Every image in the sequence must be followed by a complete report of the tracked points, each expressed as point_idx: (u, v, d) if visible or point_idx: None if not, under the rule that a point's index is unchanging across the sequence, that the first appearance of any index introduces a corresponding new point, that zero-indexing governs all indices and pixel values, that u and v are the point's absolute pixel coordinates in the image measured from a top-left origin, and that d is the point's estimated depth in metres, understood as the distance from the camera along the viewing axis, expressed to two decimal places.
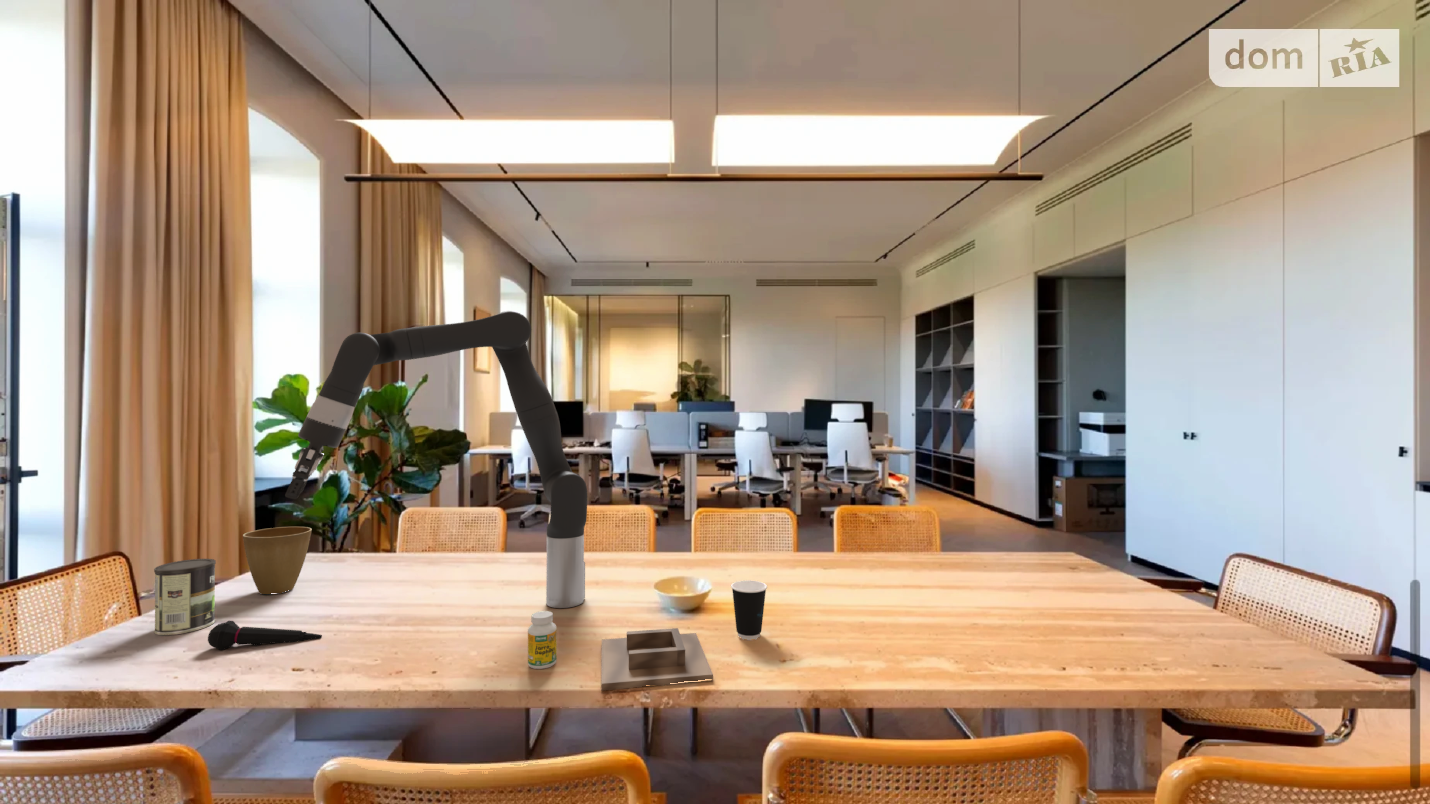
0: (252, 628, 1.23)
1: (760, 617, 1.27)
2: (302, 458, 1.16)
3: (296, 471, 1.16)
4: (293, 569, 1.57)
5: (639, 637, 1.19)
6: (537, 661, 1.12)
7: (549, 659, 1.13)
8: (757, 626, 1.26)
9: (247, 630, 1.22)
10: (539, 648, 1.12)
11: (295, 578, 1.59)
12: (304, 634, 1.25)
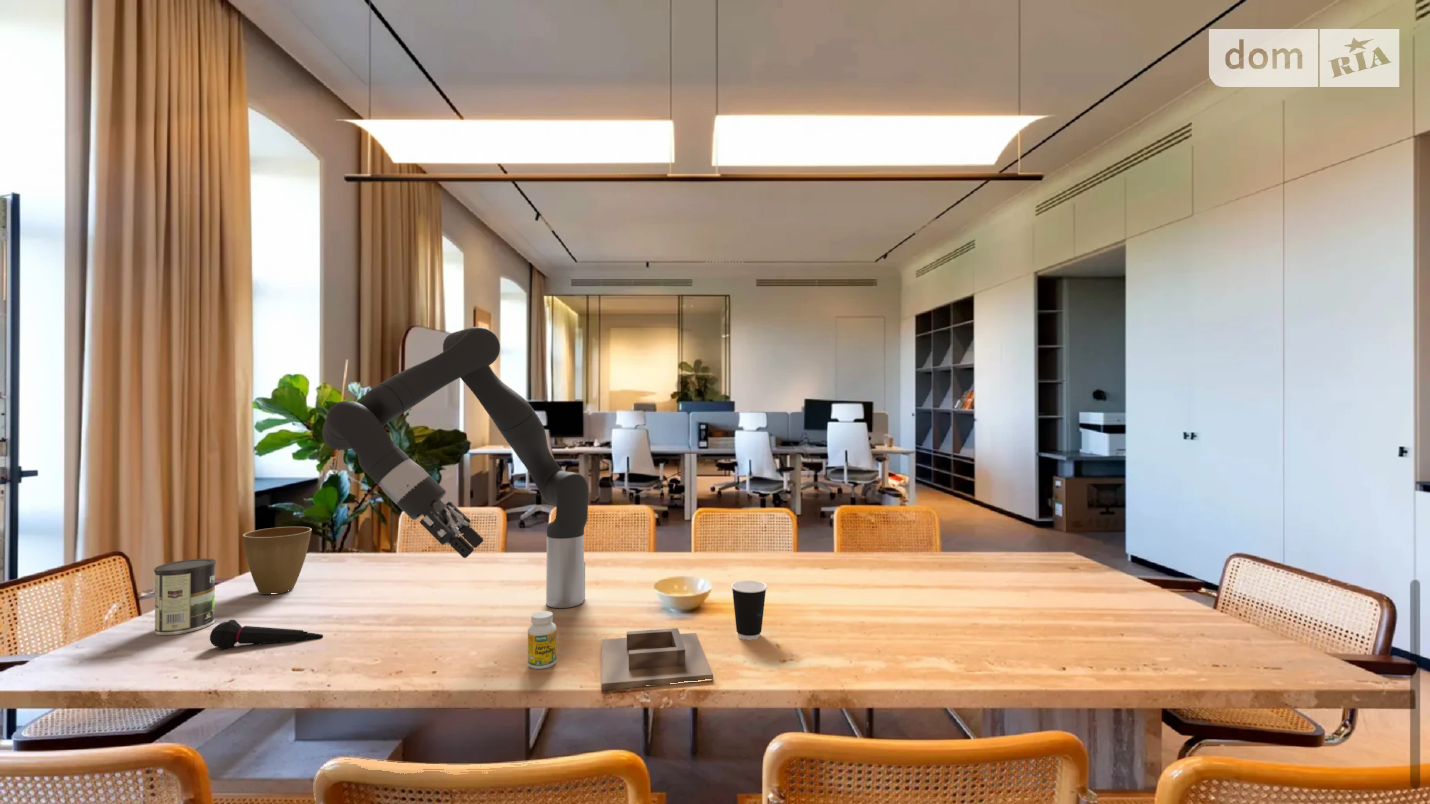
0: (254, 627, 1.23)
1: (760, 617, 1.27)
2: (428, 529, 1.04)
3: (439, 540, 1.05)
4: (293, 569, 1.57)
5: (639, 637, 1.19)
6: (537, 661, 1.12)
7: (549, 659, 1.13)
8: (757, 626, 1.26)
9: (249, 630, 1.22)
10: (539, 648, 1.12)
11: (295, 578, 1.59)
12: (305, 634, 1.25)
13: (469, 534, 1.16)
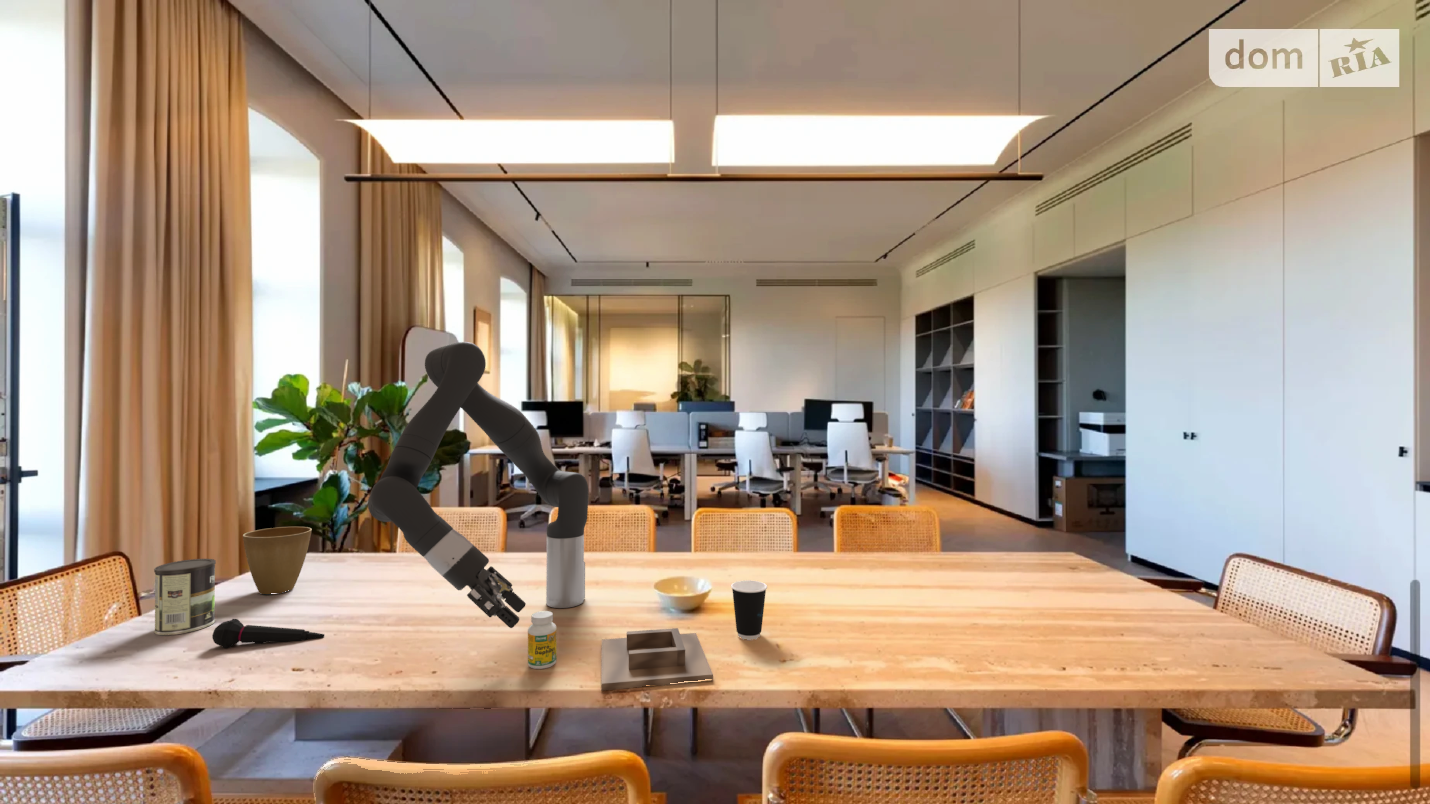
0: (256, 626, 1.23)
1: (760, 617, 1.27)
2: (476, 602, 1.06)
3: (487, 613, 1.06)
4: (293, 569, 1.57)
5: (639, 637, 1.19)
6: (537, 661, 1.12)
7: (549, 659, 1.13)
8: (757, 626, 1.26)
9: (251, 629, 1.23)
10: (539, 648, 1.12)
11: (295, 578, 1.59)
12: (307, 633, 1.26)
13: (512, 599, 1.17)
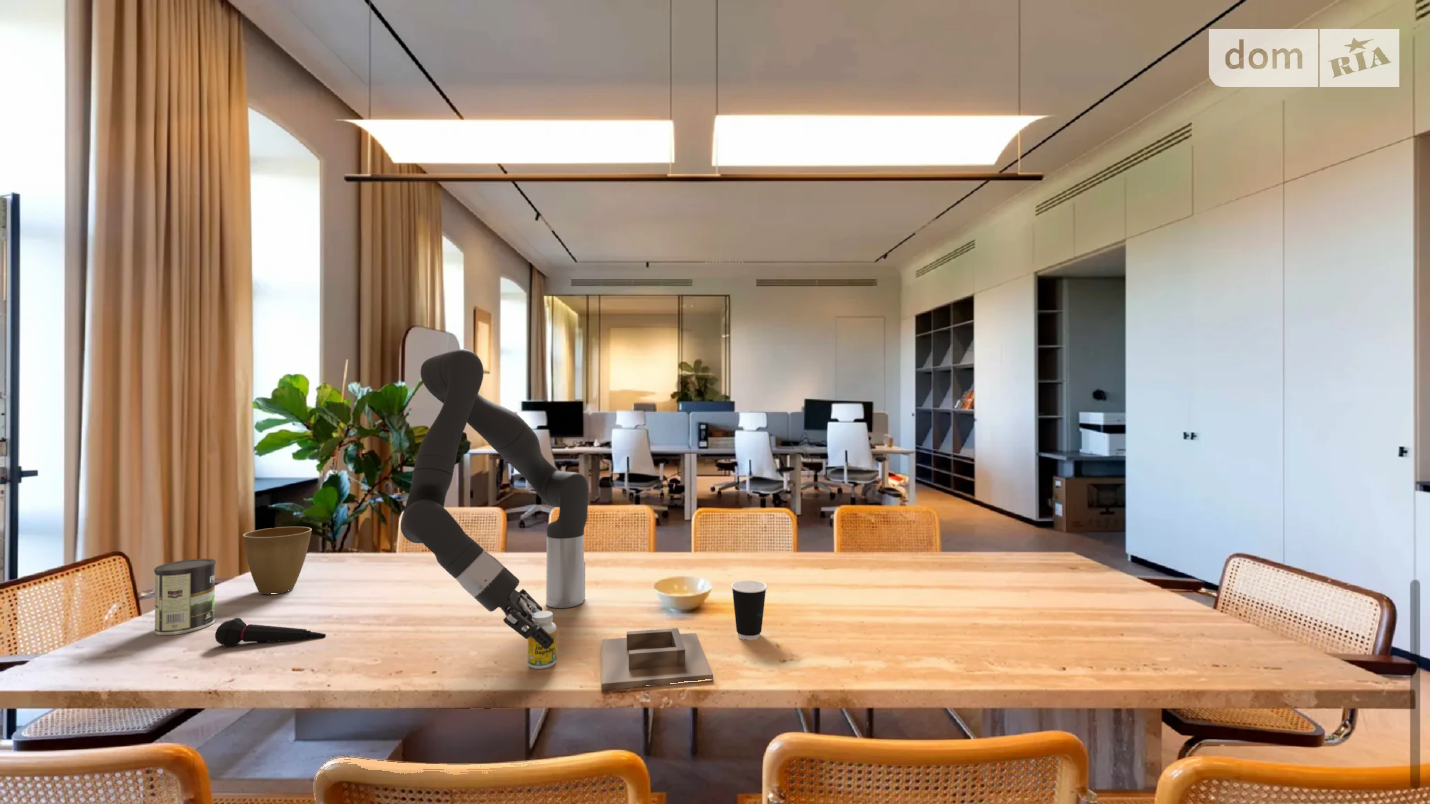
0: (258, 626, 1.24)
1: (760, 617, 1.27)
2: (513, 627, 1.07)
3: (524, 635, 1.08)
4: (293, 569, 1.57)
5: (639, 637, 1.19)
6: (537, 660, 1.12)
7: (549, 659, 1.13)
8: (757, 626, 1.26)
9: (253, 628, 1.23)
10: (539, 648, 1.12)
11: (295, 578, 1.59)
12: (308, 633, 1.26)
13: None
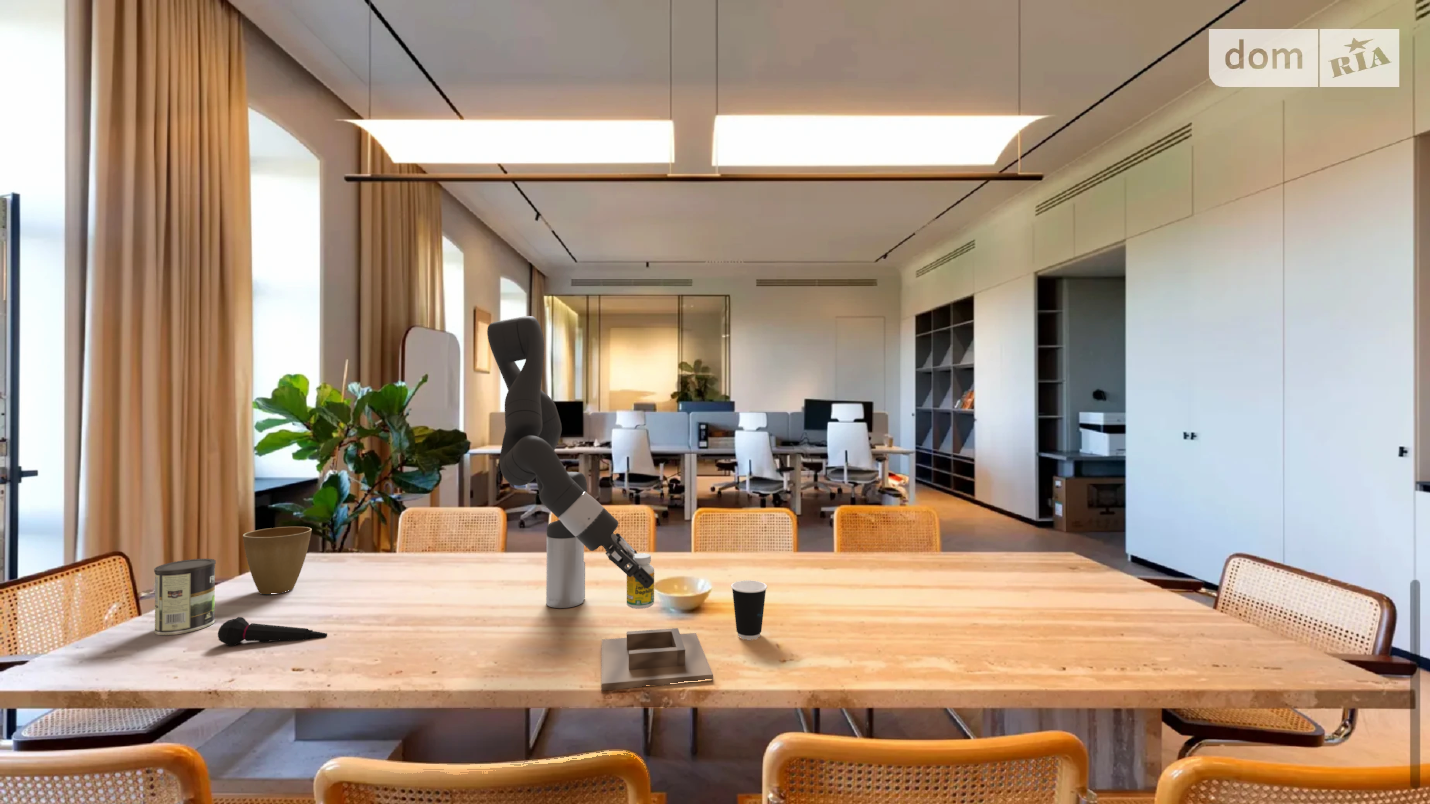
0: (260, 625, 1.24)
1: (760, 617, 1.27)
2: (617, 564, 1.08)
3: (627, 573, 1.09)
4: (293, 569, 1.57)
5: (639, 637, 1.19)
6: (637, 600, 1.12)
7: (649, 599, 1.13)
8: (757, 626, 1.26)
9: (255, 627, 1.23)
10: (639, 588, 1.12)
11: (295, 578, 1.59)
12: (310, 632, 1.26)
13: None
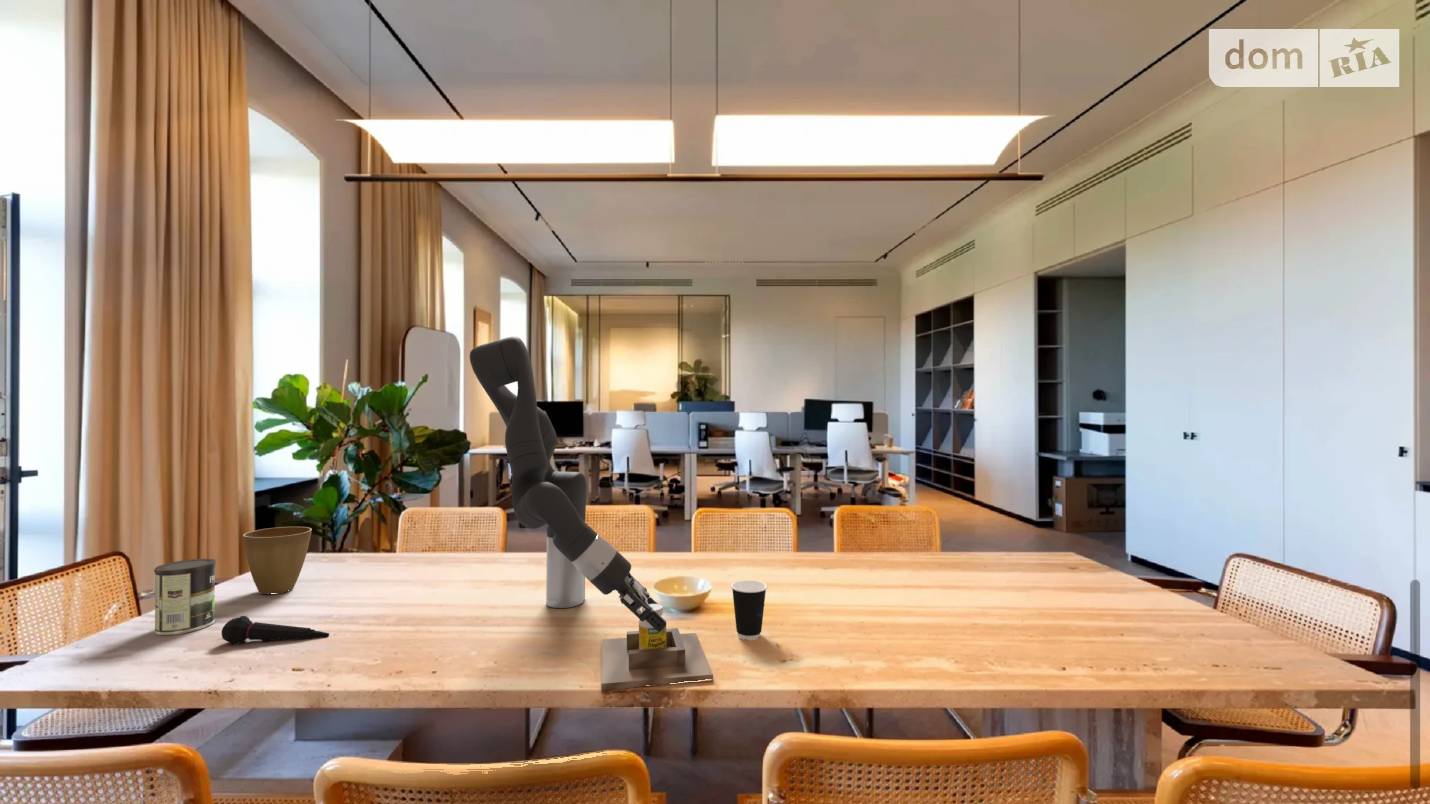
0: (263, 624, 1.25)
1: (760, 617, 1.27)
2: (629, 607, 1.08)
3: (640, 617, 1.08)
4: (293, 569, 1.57)
5: None
6: None
7: None
8: (757, 626, 1.26)
9: (258, 626, 1.24)
10: (652, 641, 1.12)
11: (295, 578, 1.59)
12: (312, 632, 1.26)
13: None
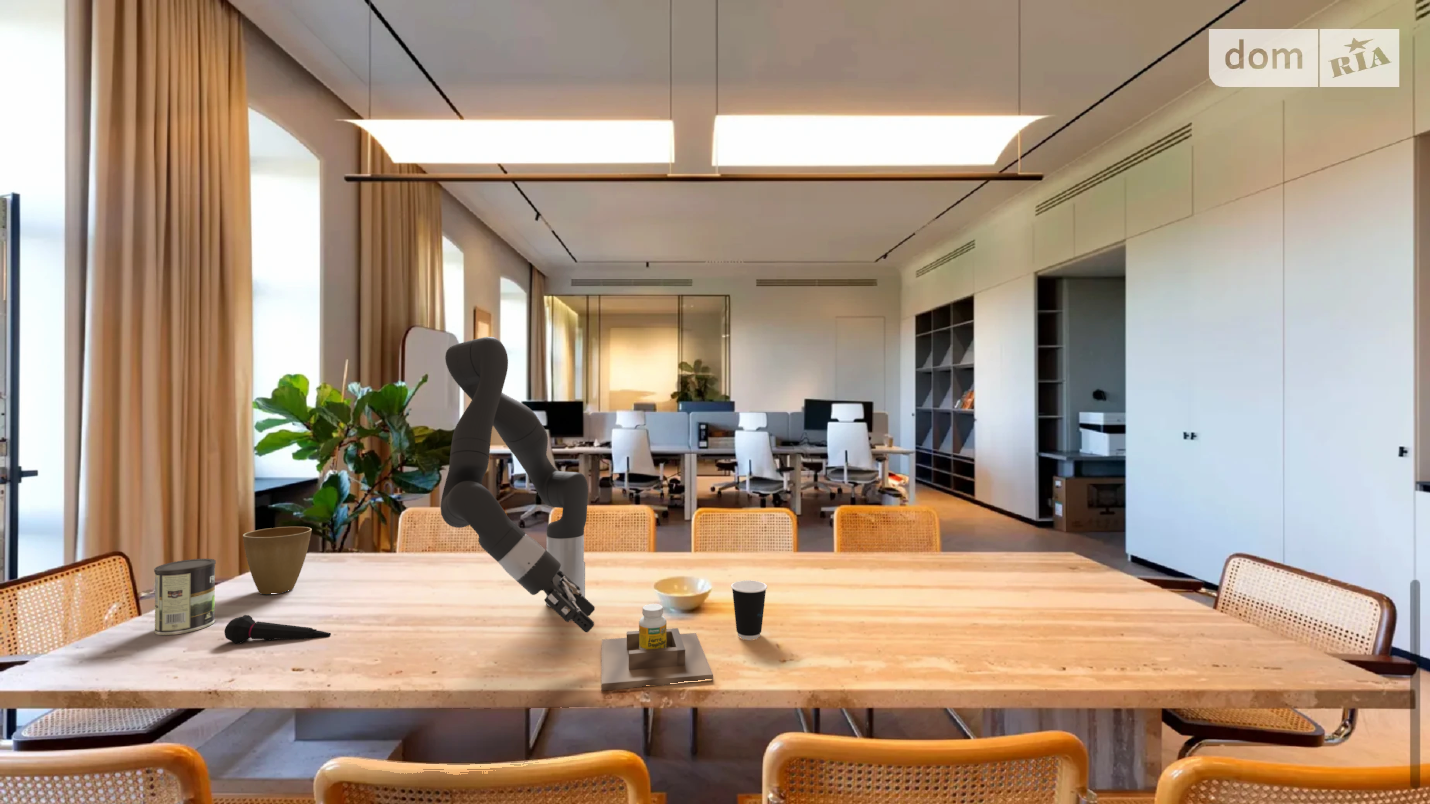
0: (265, 623, 1.25)
1: (760, 617, 1.27)
2: (553, 607, 1.06)
3: (564, 617, 1.06)
4: (293, 569, 1.57)
5: None
6: None
7: None
8: (757, 626, 1.26)
9: (261, 625, 1.24)
10: (652, 641, 1.12)
11: (295, 578, 1.59)
12: (314, 631, 1.27)
13: (581, 603, 1.17)
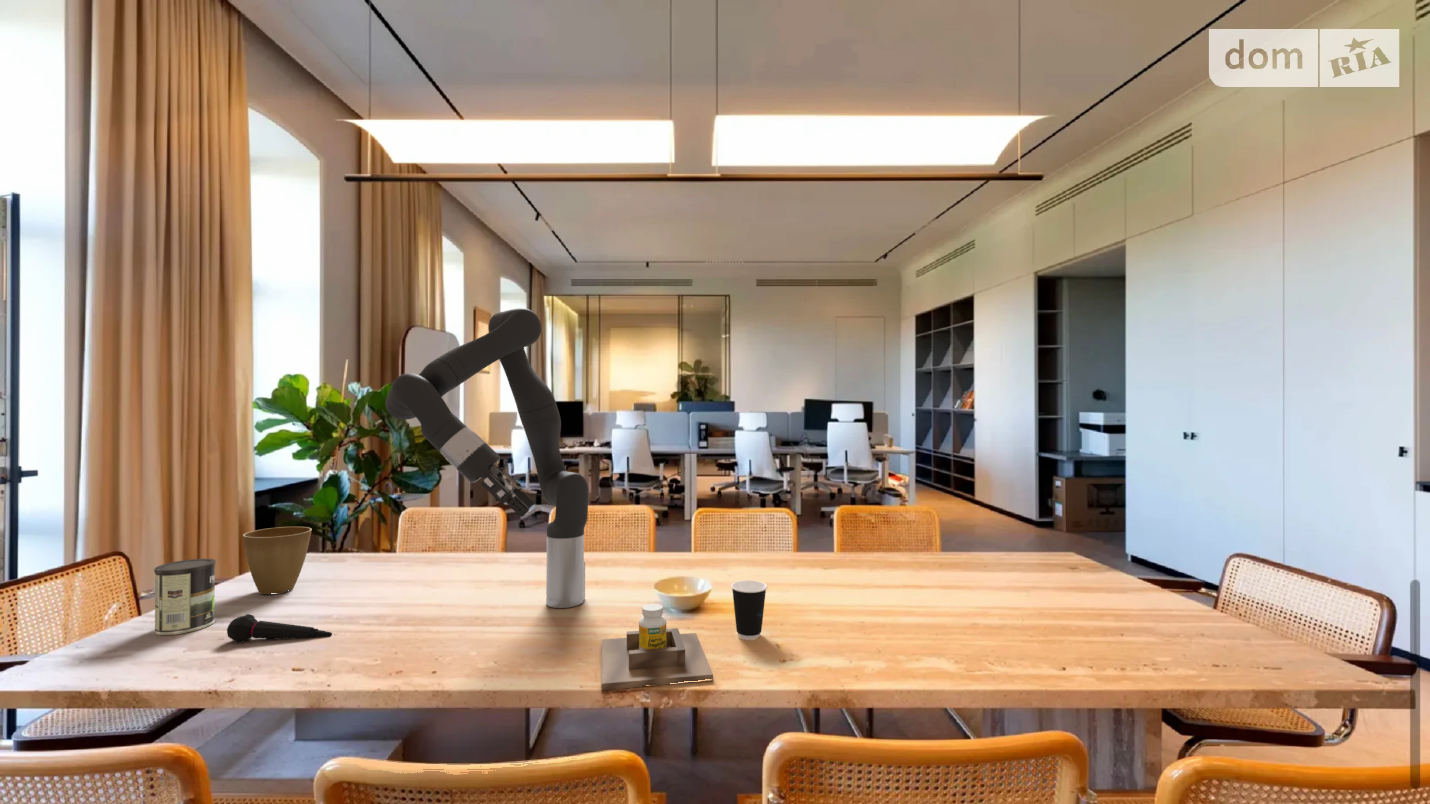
0: (268, 623, 1.26)
1: (760, 617, 1.27)
2: (489, 490, 1.13)
3: (499, 499, 1.13)
4: (293, 569, 1.57)
5: None
6: None
7: None
8: (757, 626, 1.26)
9: (263, 625, 1.25)
10: (652, 641, 1.12)
11: (295, 578, 1.59)
12: (315, 631, 1.27)
13: (521, 497, 1.25)
